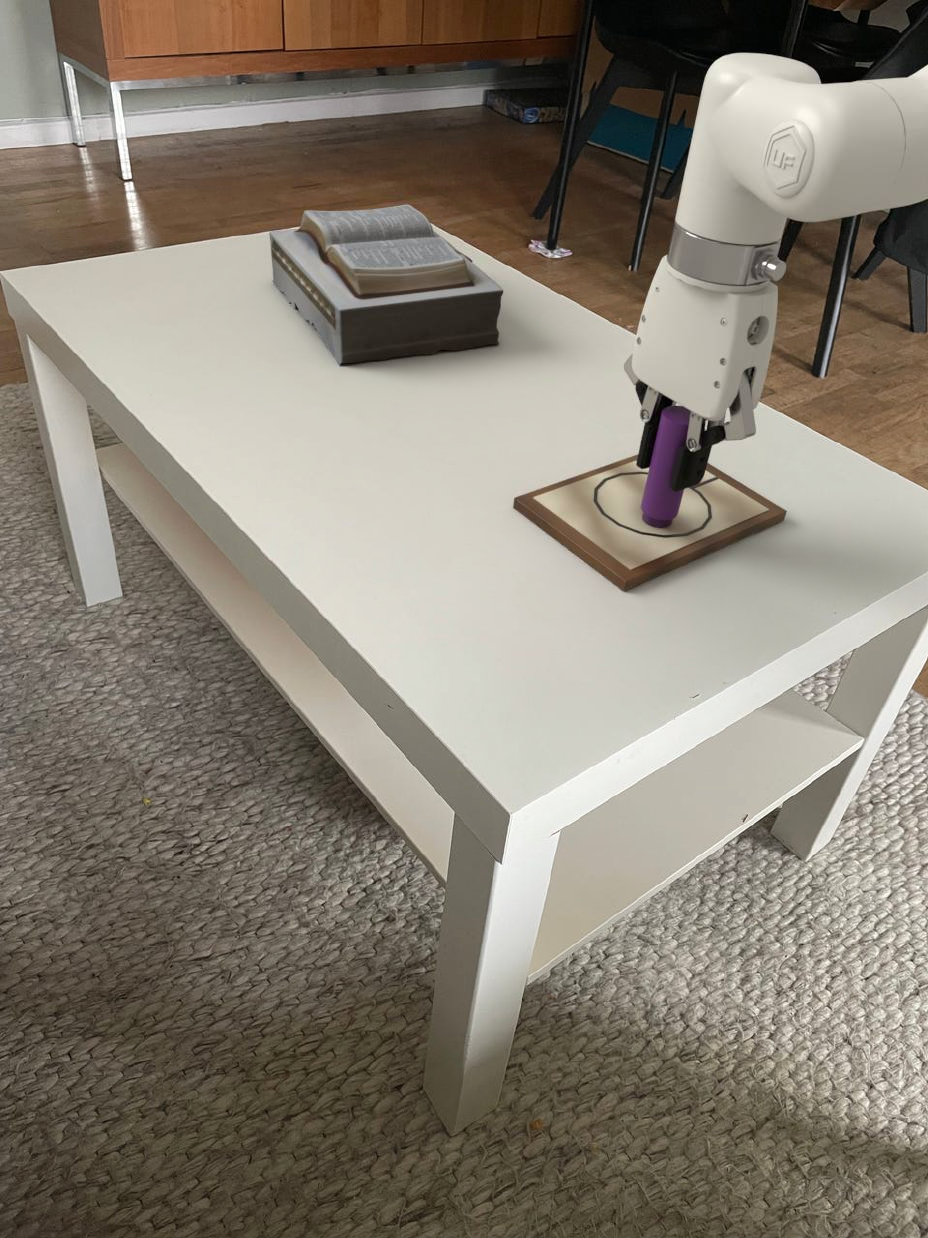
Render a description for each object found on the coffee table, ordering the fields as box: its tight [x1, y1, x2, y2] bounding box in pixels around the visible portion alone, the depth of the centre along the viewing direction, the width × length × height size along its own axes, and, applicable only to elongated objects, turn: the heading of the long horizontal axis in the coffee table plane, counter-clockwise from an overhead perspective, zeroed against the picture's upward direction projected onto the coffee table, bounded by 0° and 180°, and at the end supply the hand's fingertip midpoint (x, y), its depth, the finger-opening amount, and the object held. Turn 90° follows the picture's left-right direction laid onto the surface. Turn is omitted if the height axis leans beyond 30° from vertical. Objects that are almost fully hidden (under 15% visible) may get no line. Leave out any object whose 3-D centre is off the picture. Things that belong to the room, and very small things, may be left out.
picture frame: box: [512, 453, 788, 592], centre depth 88 cm, size 20×14×1 cm
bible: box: [268, 204, 504, 367], centre depth 115 cm, size 23×27×10 cm
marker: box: [641, 405, 691, 528], centre depth 83 cm, size 3×3×10 cm
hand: (668, 472), depth 83 cm, fingers closed on marker, 3 cm apart
